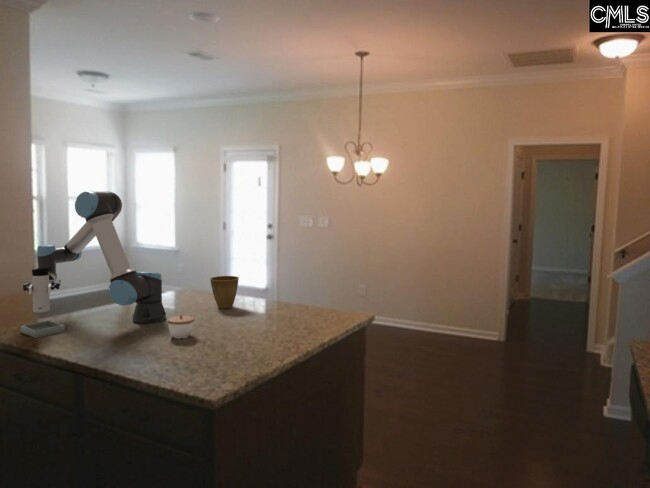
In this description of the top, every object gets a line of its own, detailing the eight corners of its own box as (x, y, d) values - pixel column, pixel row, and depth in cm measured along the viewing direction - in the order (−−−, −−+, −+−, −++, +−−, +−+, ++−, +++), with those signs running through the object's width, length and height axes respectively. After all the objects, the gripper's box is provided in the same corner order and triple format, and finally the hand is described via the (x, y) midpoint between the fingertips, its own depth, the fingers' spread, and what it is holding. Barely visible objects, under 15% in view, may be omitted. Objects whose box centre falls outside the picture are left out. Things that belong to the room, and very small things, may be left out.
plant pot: (229, 303, 272) (229, 274, 270) (244, 307, 261) (244, 278, 259) (205, 306, 262) (205, 277, 260) (219, 312, 251) (219, 281, 249)
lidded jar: (199, 334, 210) (199, 313, 209) (184, 341, 200) (184, 319, 199) (178, 332, 213) (177, 311, 212) (162, 338, 203) (162, 316, 202)
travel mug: (42, 315, 206) (41, 268, 204) (29, 314, 207) (28, 267, 205) (53, 312, 212) (52, 266, 210) (40, 311, 213) (39, 265, 211)
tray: (64, 331, 212) (64, 325, 211) (35, 337, 202) (34, 331, 202) (49, 326, 219) (49, 320, 219) (20, 332, 209) (20, 325, 209)
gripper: (68, 287, 229) (65, 297, 208) (21, 290, 221) (12, 300, 200) (68, 272, 228) (65, 280, 208) (20, 274, 220) (12, 282, 200)
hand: (39, 290), depth 204 cm, fingers closed on travel mug, 6 cm apart
